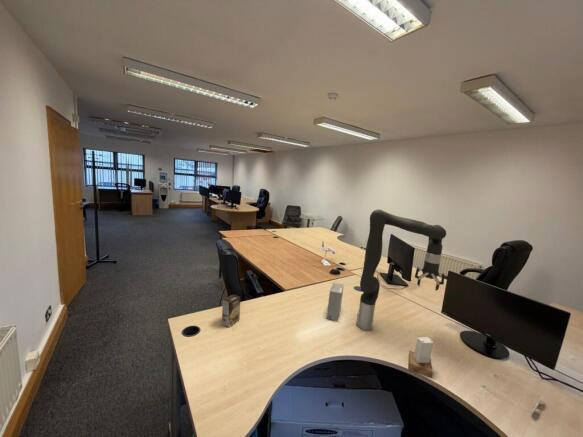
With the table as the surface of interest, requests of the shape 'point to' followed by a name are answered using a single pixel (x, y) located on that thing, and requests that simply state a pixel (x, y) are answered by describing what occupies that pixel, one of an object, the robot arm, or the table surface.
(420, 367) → the walnut block
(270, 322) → the table surface
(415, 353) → the skincare box
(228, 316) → the coffee box
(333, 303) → the hard drive box
